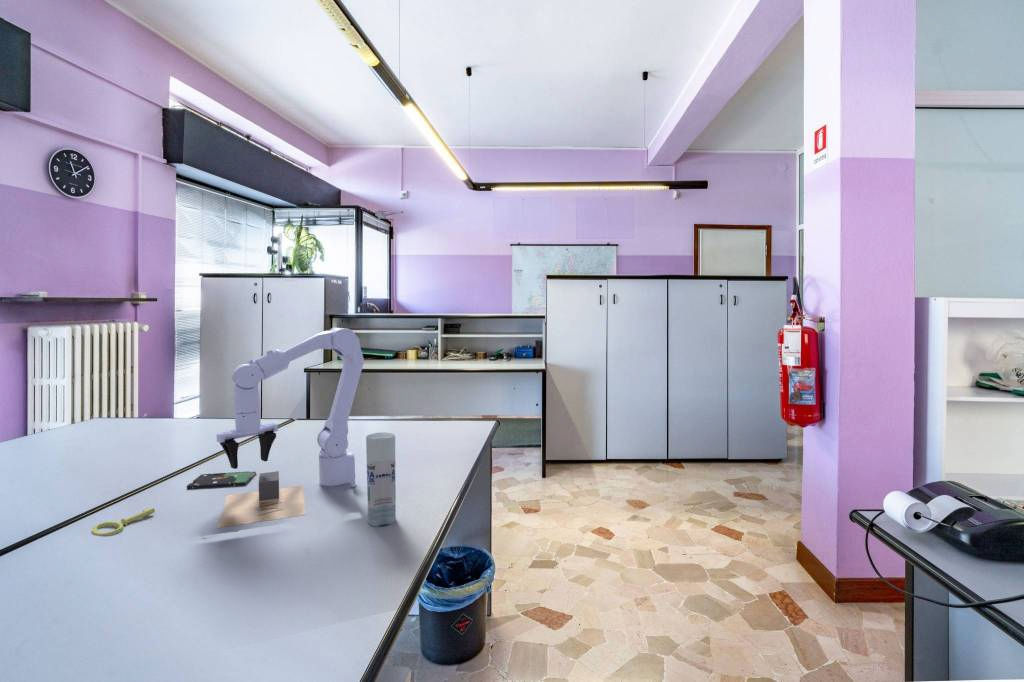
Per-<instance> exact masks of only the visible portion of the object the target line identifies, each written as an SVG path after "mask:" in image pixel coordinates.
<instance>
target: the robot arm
mask: <svg viewBox="0 0 1024 682" xmlns="http://www.w3.org/2000/svg"><path fill="white" fill-rule="evenodd" d="M317 350H332V351H334V352H335V353H336V354H337V355H338V357H339V358H340V360H341V361H342V363H343V366H342V369H341V373H340V377H339V381H338V384H337V388H336V391H335V395H334V398H333V401H332V405H331V408H330V413H329V416H328V418H327V419H326V421H324V425H323V428H322V429H321V430H320V431H319V433H318V435H317V437H316V438H317V439H316V441H317V444H318V446H319V447H320V448H321V449H320V451H319V453H318V462H319V463H318V466H319V469H318V471H319V472H318V473H319V474H318V476H319V477H318V478H319V480H318V481H319V485H320V486H322V487H323V486H324V487H335V486H340V485H344V484H350V487H351V488H355V487H356V461H355V460H356V459H355V453H354V452H353V451H352V452H351V451H349V452H347V449H348V447H349V441H348V434H349V426H348V425H349V424H348V421H349V417H350V414H351V410H352V407H353V406H352V405H353V404H354V403H353V402H354V399H355V396H356V392H357V388H358V384H359V382H360V381H359V380H360V377H361V374H362V370H363V368H364V367H363V366H364V362H365V360H364V355H363V351H362V348H361V342H360V338H359V337H358V336H357V334H356V333H355V332H354V331H353V330H352V329H350V328H348V327H347V328H346V327H343V328H342V327H332V328H330V329H329V330H325V331H324V330H323V331H321V332H319V333H317V334H314V335H312V336H311V337H309V338H307V339H305V340H303V341H300V342H298V343H297V344H294V345H293V346H291V347H289V348H288V349H285V350H280V349H278V348H277V349H274V350H273V349H268V350H266V353H265V354H263V355H262V356H259V357H257V358H255V359H252V358H250V359H248V360H247V362H248V363H246V364H245V363H243V364H240V365H238V366H236V367H235V369H234V370H233V372H232V374H231V379H232V381H233V382H234V389H233V391H234V396H233V397H234V398H233V400H234V402H233V403H234V421H235V422H234V424H235V426H234V427H235V428H234V429H230V430H228V431H227V430H225V431H224V432H219V433H216V442H217V443H219V444H220V446H221V447H222V450H223V451H224V453H225V455H226V456H227V458H228V461H229V465H230V468H231V469H234V470H235V469H238V468H239V463H238V450H239V444H240V443H239V442H237V441H236V440H237V439H241V438H246V437H252V436H258V442H259V447H260V448H259V449H260V453H259V454H260V460H261V461H263V462H267V461H268V460H269V456H270V451H271V449H272V448H271V447H272V445H273V444H274V442H275V439H276V438H277V433H276V432H279V428H278V427H279V424H278V423H274V422H273V423H272V422H271V423H266V424H261V401H260V400H261V399H260V397H261V396H260V392H259V384H260V382H261V380H262V381H265V380H267V379H268V378H271V377H273V376H275V375H277V374H279V373H281V372H283V371H284V370H287V369H288V367H289V365H290V362H292V361H295V360H297V359H299V358H301V357H305V356H306V355H308V354H310V353H313V352H314V351H317Z"/></svg>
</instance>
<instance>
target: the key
mask: <svg viewBox="0 0 1024 682" xmlns="http://www.w3.org/2000/svg"><path fill="white" fill-rule="evenodd" d="M155 512H156V510H155V508H154V507H151V508H145V509H143V510H142V512H139V513H137V514H135V515H132V516H130V517H127V518H121V519H120V521H116V520H115V521H113V520H111V521H110V520H109V521H105V522H102V523H99V524H96V525H95V526H93V528H92V529H91V533H93V534H92V535H94V536H98V535H100V536H101V537H102V536H103V535H108V536H113V535H116V533H117V534H119V533H118V532H120V533H122V532H123V531H124V530H123V529H124V528H125V526H123V525H126V526H128V525H129V524H131V523H133V522H137V521H138V520H141V519H142V518H145V517H147V516H150V515H152V514H154V513H155ZM128 523H129V524H128ZM105 526H107V527H112V526H115V527H114V528H115V529H114V530H110V531H106V532H105V531H99V529H101V527H102V528H106V527H105ZM117 527H118V528H117ZM122 530H123V531H122ZM121 531H122V532H121ZM112 534H113V535H112ZM100 536H99V537H100ZM103 537H104V536H103Z"/></svg>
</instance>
